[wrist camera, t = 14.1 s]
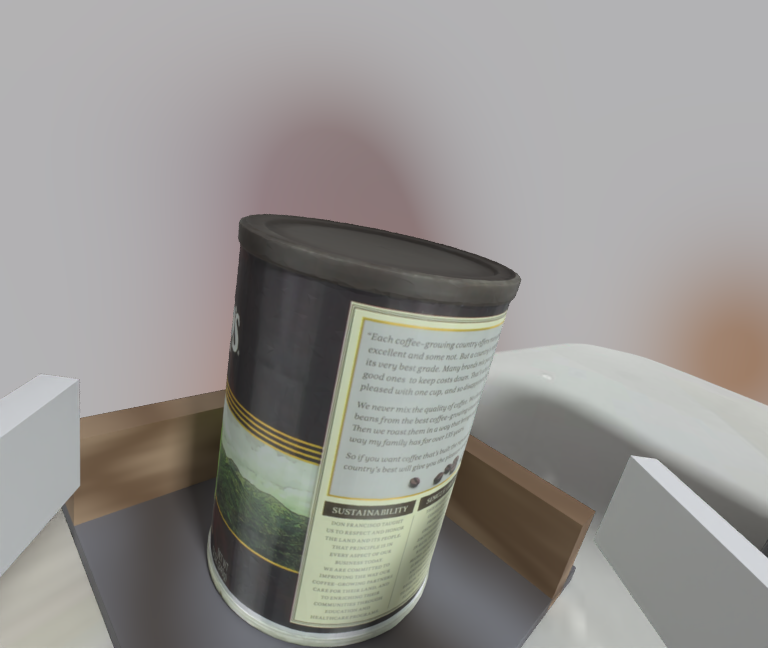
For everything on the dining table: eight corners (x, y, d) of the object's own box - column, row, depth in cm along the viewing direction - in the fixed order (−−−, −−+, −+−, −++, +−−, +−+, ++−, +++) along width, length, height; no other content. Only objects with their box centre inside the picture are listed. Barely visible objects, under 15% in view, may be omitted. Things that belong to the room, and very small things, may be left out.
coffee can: (149, 608, 16) (173, 216, 12) (262, 451, 26) (296, 210, 21) (427, 689, 15) (555, 303, 11) (433, 496, 25) (501, 255, 21)
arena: (345, 412, 33) (357, 353, 32) (571, 579, 22) (605, 500, 21) (58, 498, 20) (56, 405, 19) (250, 1011, 9) (282, 879, 8)
